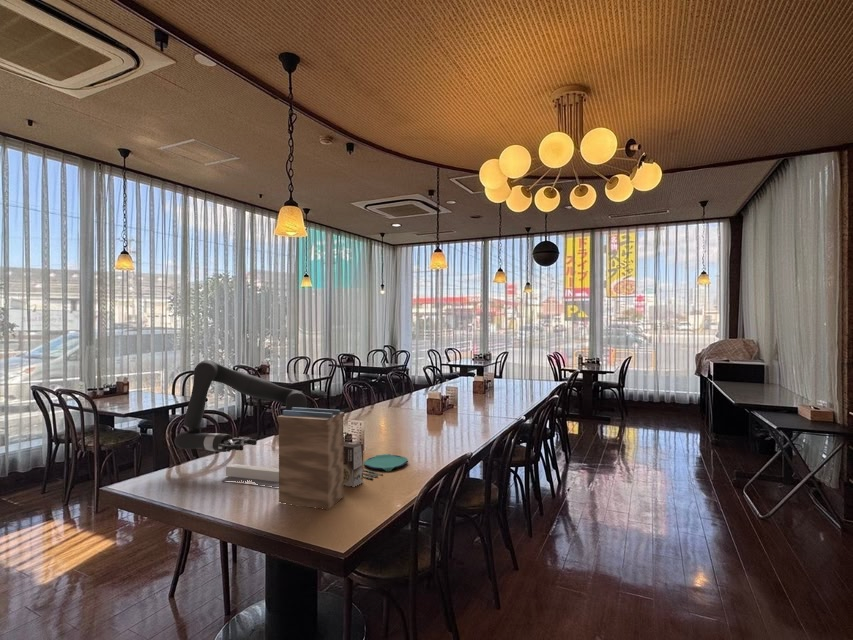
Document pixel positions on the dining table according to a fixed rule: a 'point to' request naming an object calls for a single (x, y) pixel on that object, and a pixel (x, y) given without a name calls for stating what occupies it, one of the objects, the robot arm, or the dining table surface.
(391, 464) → the cutlery set
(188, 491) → the dining table surface
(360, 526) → the dining table surface
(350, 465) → the grey food carton
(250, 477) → the bar
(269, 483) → the mat
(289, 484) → the brown wooden box
